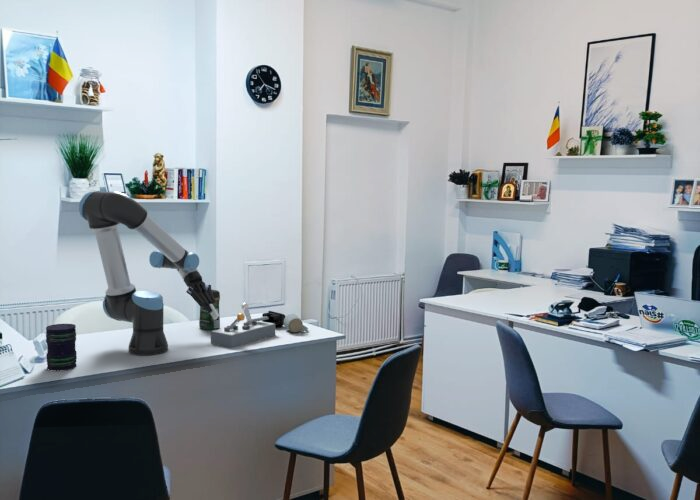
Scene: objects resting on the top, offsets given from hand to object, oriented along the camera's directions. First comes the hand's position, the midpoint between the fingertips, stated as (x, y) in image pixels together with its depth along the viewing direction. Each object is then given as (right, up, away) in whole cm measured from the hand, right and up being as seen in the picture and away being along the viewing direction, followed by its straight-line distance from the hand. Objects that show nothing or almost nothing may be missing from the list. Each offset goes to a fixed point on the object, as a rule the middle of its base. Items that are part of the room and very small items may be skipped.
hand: (216, 317), depth 268 cm
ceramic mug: (+33, -9, +20) cm, 39 cm away
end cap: (+21, -8, +30) cm, 38 cm away
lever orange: (+7, -4, -4) cm, 9 cm away
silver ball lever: (+14, -3, +6) cm, 15 cm away
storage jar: (-46, -13, -44) cm, 65 cm away
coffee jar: (-8, -8, +23) cm, 25 cm away
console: (+11, -10, +3) cm, 15 cm away
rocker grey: (+17, -2, +11) cm, 21 cm away
